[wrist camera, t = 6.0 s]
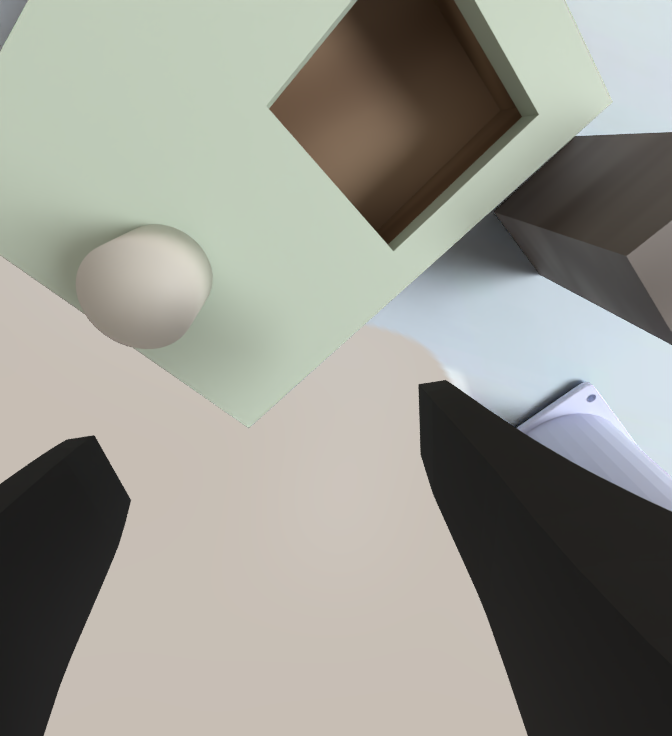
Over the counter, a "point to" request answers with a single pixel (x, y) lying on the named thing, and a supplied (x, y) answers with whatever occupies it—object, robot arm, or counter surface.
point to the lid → (235, 178)
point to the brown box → (396, 107)
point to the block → (603, 224)
